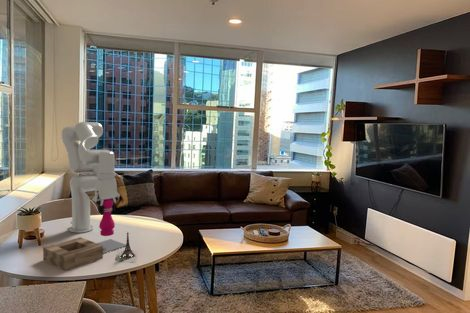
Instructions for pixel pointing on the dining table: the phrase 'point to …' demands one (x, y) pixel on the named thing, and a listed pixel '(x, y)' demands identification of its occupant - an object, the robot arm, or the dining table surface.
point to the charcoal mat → (111, 245)
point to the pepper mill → (107, 219)
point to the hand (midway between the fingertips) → (106, 211)
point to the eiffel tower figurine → (126, 252)
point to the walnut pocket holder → (72, 253)
